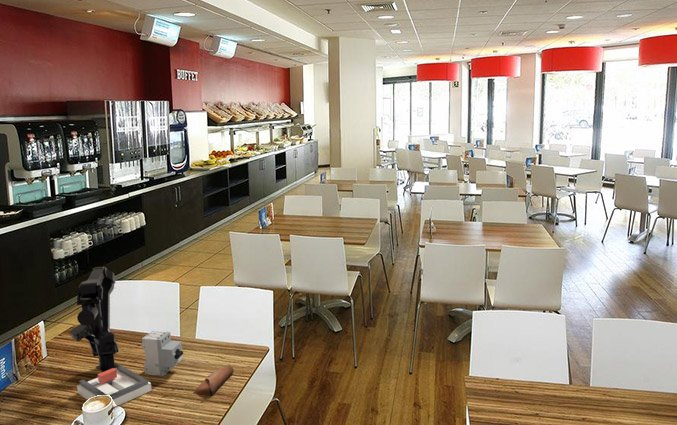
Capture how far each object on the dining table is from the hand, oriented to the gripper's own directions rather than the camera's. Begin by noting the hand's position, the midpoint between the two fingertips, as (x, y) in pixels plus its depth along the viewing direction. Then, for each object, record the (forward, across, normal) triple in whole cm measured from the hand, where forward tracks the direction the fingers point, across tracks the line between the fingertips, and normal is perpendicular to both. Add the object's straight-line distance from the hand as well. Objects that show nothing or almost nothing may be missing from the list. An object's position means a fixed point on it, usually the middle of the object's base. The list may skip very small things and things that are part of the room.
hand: (97, 354), depth 206 cm
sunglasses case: (+13, +34, +27) cm, 45 cm away
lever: (+11, +6, 0) cm, 13 cm away
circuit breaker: (+12, +12, +21) cm, 27 cm away
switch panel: (+12, +10, 0) cm, 16 cm away
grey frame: (+9, +11, 0) cm, 14 cm away
